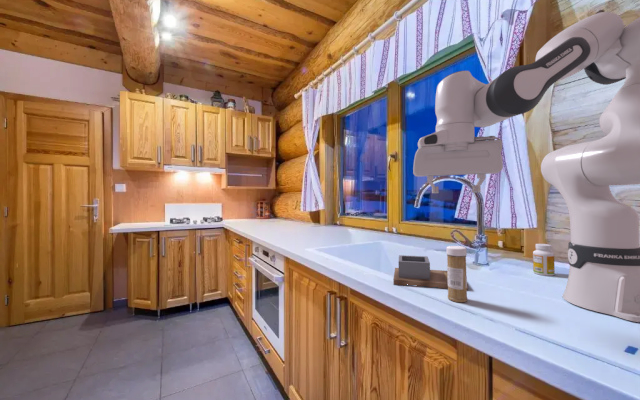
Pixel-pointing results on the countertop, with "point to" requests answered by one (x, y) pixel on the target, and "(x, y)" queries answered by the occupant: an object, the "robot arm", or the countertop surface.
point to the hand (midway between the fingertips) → (455, 193)
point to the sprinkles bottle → (457, 273)
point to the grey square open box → (414, 267)
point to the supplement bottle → (543, 260)
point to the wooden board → (436, 279)
